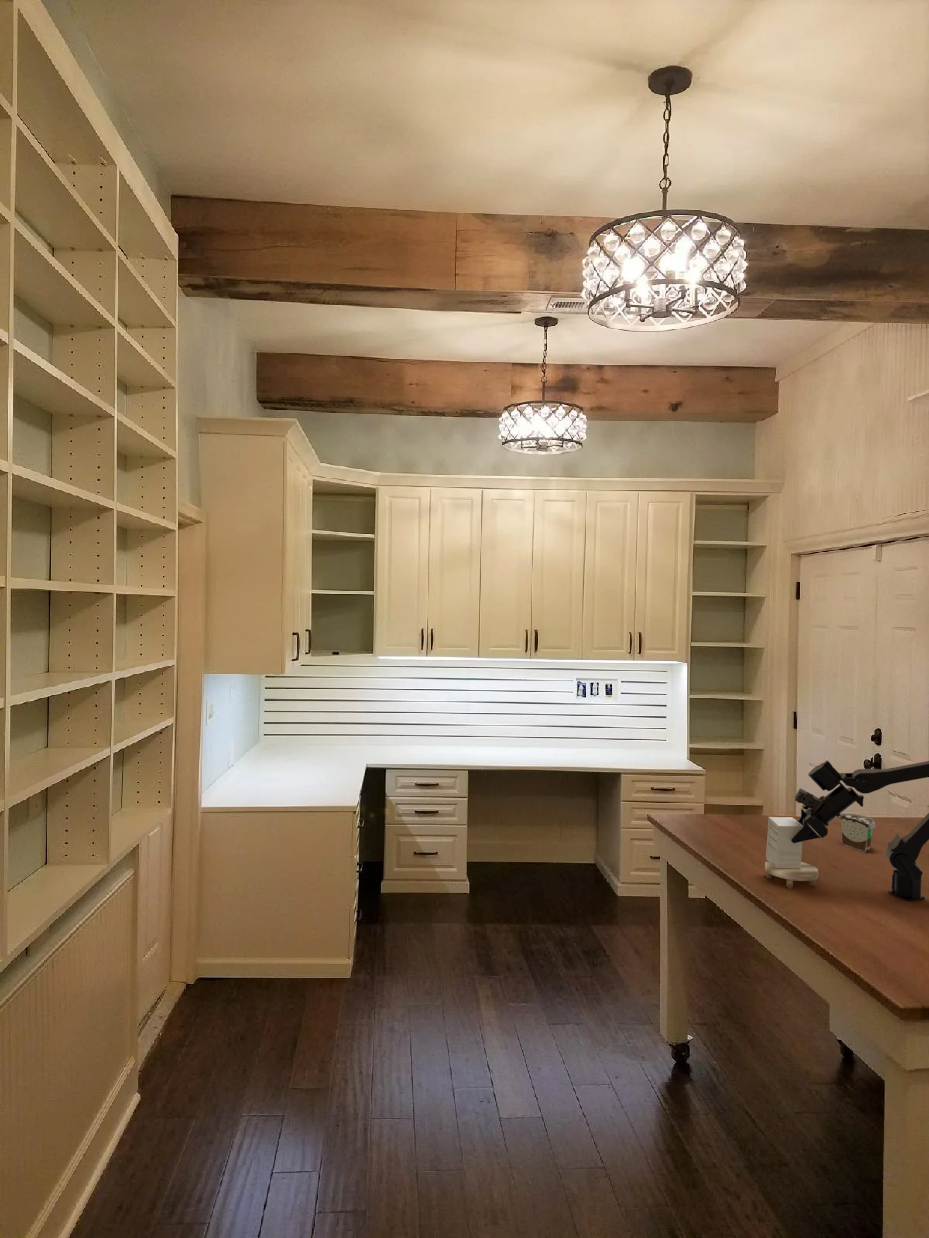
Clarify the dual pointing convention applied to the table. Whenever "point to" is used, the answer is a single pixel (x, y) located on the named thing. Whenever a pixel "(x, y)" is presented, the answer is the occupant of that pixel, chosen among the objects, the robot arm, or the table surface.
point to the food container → (856, 831)
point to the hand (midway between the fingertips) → (791, 837)
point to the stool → (793, 873)
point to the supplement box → (783, 843)
